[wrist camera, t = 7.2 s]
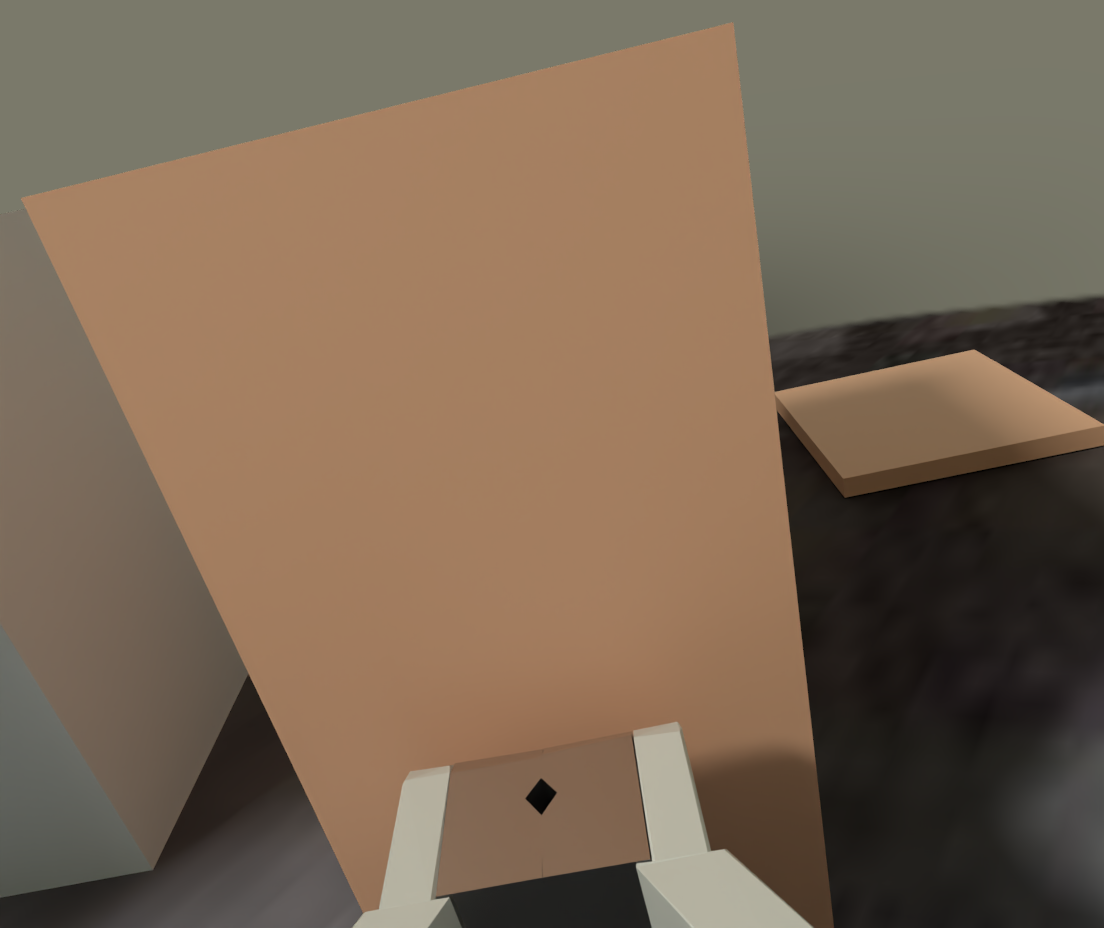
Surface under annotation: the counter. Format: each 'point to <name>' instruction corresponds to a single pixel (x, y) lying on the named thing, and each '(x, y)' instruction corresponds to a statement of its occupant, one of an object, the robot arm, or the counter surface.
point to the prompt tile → (930, 422)
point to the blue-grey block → (90, 609)
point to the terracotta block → (477, 434)
